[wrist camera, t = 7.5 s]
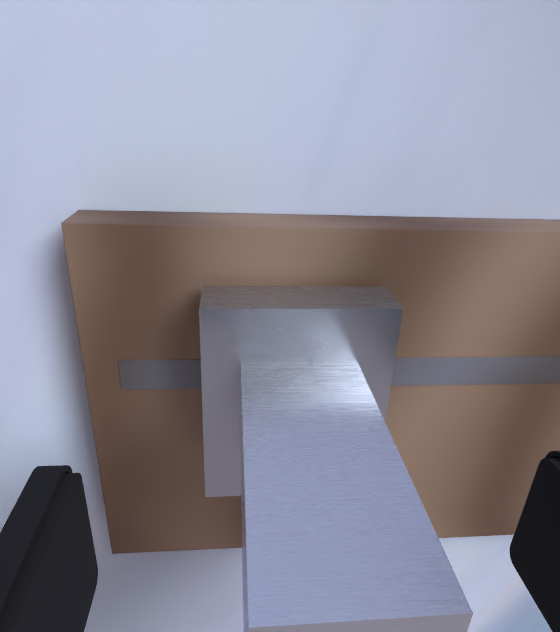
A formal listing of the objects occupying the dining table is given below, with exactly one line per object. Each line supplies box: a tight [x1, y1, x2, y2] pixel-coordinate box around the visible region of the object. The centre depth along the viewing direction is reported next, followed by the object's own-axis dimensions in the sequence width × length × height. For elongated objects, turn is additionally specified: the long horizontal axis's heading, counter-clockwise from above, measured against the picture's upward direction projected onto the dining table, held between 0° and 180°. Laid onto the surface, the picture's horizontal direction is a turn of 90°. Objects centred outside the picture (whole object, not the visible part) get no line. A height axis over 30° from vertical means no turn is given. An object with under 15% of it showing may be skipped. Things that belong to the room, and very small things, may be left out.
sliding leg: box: [199, 285, 473, 632], centre depth 11 cm, size 5×9×8 cm, turn 178°
